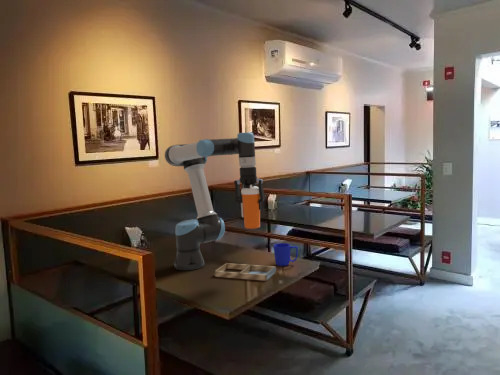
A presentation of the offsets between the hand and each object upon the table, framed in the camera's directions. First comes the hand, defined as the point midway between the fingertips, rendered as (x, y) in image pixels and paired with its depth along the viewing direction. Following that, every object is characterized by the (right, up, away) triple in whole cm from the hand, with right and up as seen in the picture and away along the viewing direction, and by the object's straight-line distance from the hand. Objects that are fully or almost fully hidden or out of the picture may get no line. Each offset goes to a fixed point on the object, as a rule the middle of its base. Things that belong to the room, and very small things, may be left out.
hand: (250, 216), depth 190 cm
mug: (+18, -25, +17) cm, 35 cm away
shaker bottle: (+1, -5, 0) cm, 5 cm away
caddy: (-3, -27, +5) cm, 28 cm away
